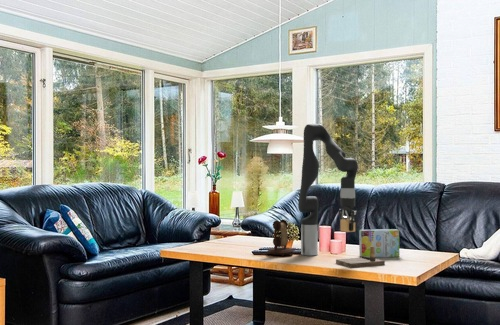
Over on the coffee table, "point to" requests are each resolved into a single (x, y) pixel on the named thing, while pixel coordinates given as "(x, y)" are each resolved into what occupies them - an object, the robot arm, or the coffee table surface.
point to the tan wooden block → (346, 225)
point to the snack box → (379, 242)
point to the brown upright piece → (280, 239)
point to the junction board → (361, 260)
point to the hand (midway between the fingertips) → (347, 229)
